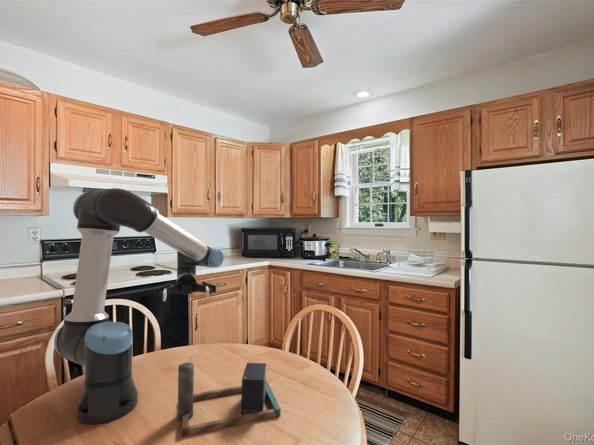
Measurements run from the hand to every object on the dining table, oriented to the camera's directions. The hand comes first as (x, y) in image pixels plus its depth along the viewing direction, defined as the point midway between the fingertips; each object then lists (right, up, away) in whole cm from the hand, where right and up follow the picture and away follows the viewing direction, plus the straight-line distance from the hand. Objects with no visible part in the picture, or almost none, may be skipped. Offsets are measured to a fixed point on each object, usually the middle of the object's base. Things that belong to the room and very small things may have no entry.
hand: (186, 295), depth 100 cm
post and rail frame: (+16, -30, -12) cm, 36 cm away
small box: (+24, -30, -10) cm, 40 cm away
